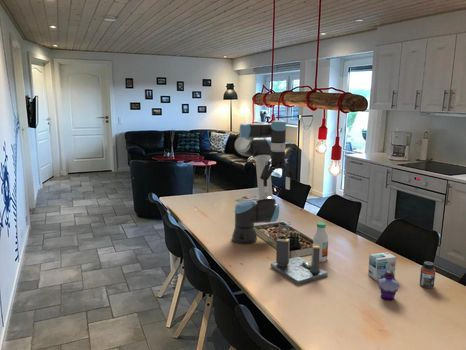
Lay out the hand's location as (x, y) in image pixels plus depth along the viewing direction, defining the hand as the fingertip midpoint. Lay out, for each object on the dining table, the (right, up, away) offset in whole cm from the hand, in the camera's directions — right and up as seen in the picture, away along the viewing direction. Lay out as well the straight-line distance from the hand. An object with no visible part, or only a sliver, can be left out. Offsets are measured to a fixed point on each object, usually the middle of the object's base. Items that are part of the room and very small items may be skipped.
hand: (277, 190), depth 204 cm
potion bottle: (+44, -45, -36) cm, 72 cm away
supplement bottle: (+65, -43, -26) cm, 82 cm away
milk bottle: (+23, -37, +3) cm, 44 cm away
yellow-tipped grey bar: (+2, -37, -8) cm, 38 cm away
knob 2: (+16, -38, -15) cm, 45 cm away
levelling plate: (+9, -40, -11) cm, 42 cm away
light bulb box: (+48, -41, -17) cm, 66 cm away
